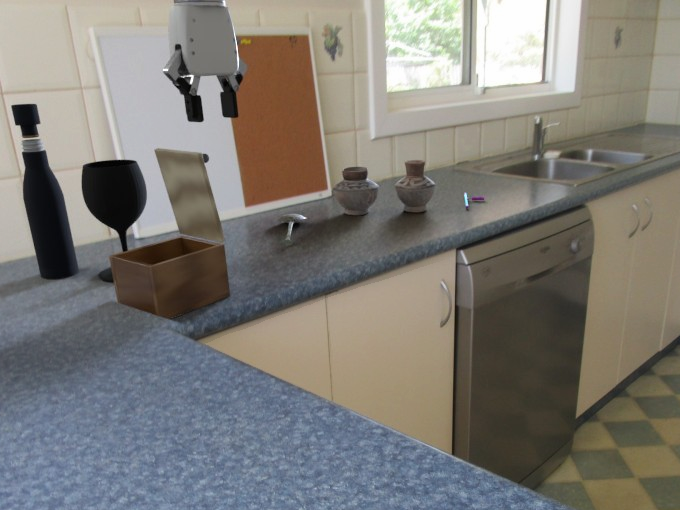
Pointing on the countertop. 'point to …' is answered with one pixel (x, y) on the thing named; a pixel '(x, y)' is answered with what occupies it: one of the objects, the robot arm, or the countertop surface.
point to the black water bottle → (44, 202)
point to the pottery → (363, 192)
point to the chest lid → (190, 193)
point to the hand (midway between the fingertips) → (213, 118)
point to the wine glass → (114, 197)
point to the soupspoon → (290, 225)
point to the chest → (171, 276)
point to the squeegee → (472, 199)
